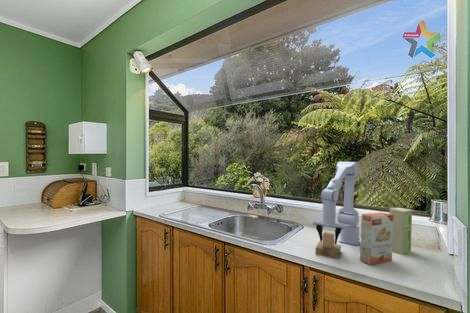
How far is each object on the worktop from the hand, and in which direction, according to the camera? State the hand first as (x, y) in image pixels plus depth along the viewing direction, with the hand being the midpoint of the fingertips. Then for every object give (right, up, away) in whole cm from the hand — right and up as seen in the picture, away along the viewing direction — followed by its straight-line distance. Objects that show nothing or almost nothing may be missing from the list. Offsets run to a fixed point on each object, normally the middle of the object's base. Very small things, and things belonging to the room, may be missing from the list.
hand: (328, 242), depth 115 cm
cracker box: (+18, -6, -8) cm, 21 cm away
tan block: (0, -2, 0) cm, 2 cm away
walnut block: (0, -5, 0) cm, 5 cm away
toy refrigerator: (+38, -6, +4) cm, 38 cm away
